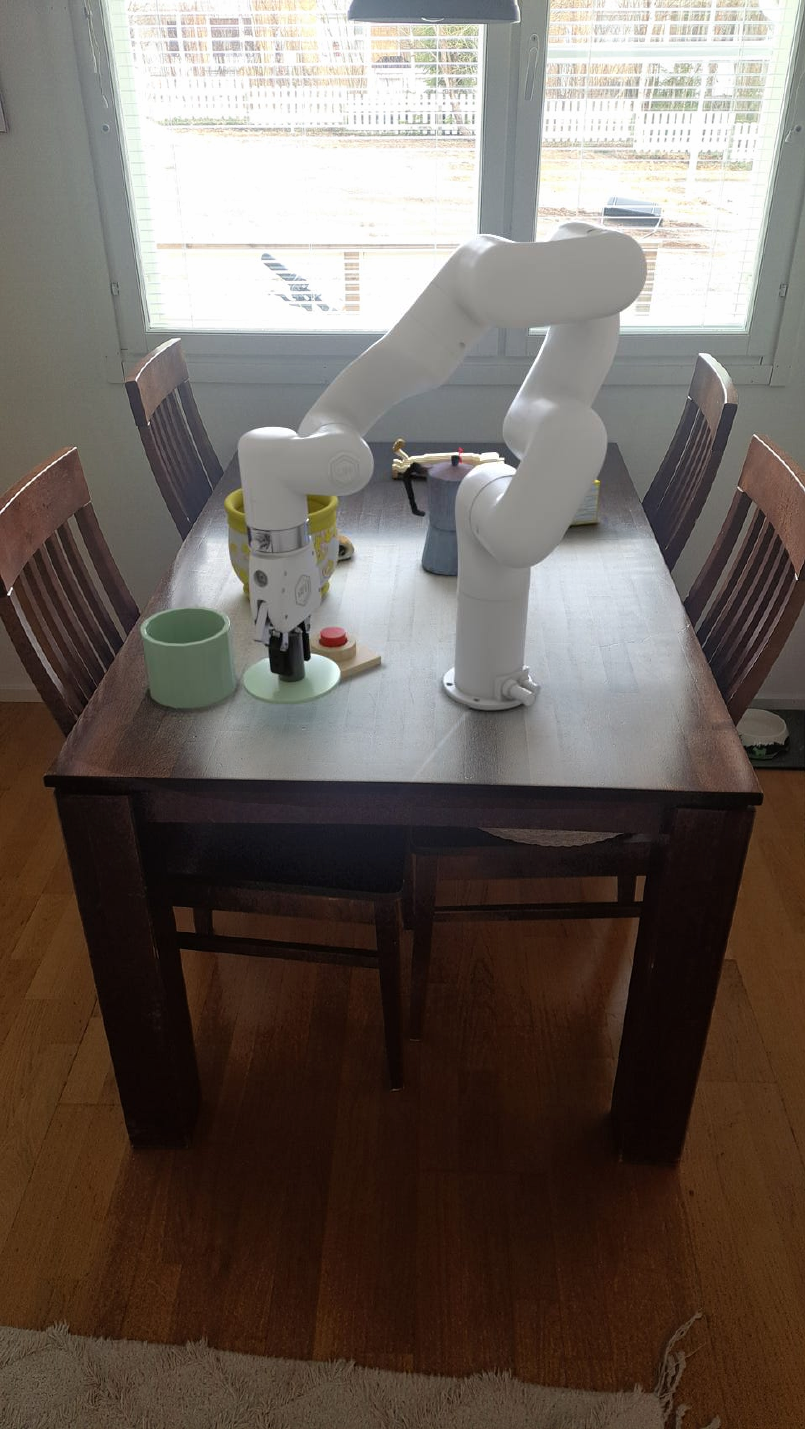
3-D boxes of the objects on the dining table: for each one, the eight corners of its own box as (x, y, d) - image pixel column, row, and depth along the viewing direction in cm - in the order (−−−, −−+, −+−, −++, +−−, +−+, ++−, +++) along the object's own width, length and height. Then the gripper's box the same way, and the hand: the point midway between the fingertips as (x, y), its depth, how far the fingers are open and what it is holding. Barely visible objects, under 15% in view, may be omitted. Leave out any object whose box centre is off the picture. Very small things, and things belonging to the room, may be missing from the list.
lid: (357, 670, 135) (355, 619, 131) (310, 717, 126) (306, 663, 122) (276, 653, 140) (271, 603, 136) (224, 696, 130) (217, 644, 126)
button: (350, 643, 146) (350, 633, 145) (330, 651, 144) (330, 640, 143) (335, 635, 148) (335, 624, 147) (315, 642, 146) (315, 631, 145)
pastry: (306, 546, 186) (305, 526, 184) (341, 541, 188) (340, 521, 186) (322, 564, 178) (322, 544, 176) (358, 559, 181) (358, 539, 179)
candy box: (592, 520, 198) (597, 478, 193) (597, 523, 196) (601, 482, 192) (514, 527, 194) (517, 485, 190) (518, 531, 192) (521, 489, 188)
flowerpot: (286, 563, 179) (281, 473, 170) (363, 591, 169) (361, 496, 160) (209, 596, 167) (199, 501, 158) (287, 628, 157) (280, 528, 148)
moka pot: (483, 580, 173) (489, 466, 162) (396, 573, 175) (395, 460, 165) (490, 559, 181) (496, 449, 170) (406, 552, 183) (407, 443, 173)
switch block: (381, 666, 147) (381, 645, 145) (331, 686, 142) (330, 664, 140) (336, 639, 154) (335, 619, 152) (287, 657, 149) (285, 636, 147)
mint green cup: (251, 679, 143) (246, 616, 138) (203, 719, 134) (196, 652, 129) (183, 662, 148) (175, 600, 142) (132, 699, 138) (122, 634, 133)
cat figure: (392, 487, 217) (509, 481, 215) (389, 447, 213) (508, 440, 210) (396, 472, 226) (508, 466, 223) (393, 434, 221) (507, 427, 218)
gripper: (268, 564, 114) (282, 702, 124) (338, 515, 127) (346, 644, 136) (213, 554, 117) (231, 690, 127) (287, 507, 130) (298, 634, 139)
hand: (290, 665), depth 131 cm, fingers closed on lid, 3 cm apart
